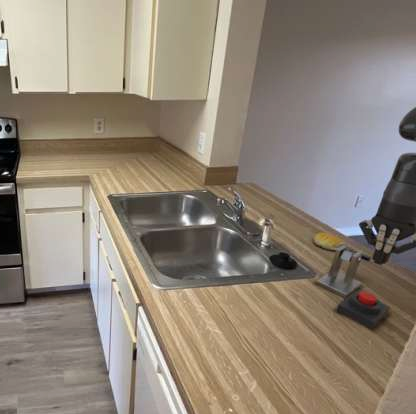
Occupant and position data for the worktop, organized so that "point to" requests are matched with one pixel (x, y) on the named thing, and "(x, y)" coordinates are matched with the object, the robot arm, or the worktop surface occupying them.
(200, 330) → the worktop surface
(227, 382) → the worktop surface
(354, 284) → the lever bracket
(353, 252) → the press lever
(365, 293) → the button
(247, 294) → the worktop surface
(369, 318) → the button block
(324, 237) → the bread roll
